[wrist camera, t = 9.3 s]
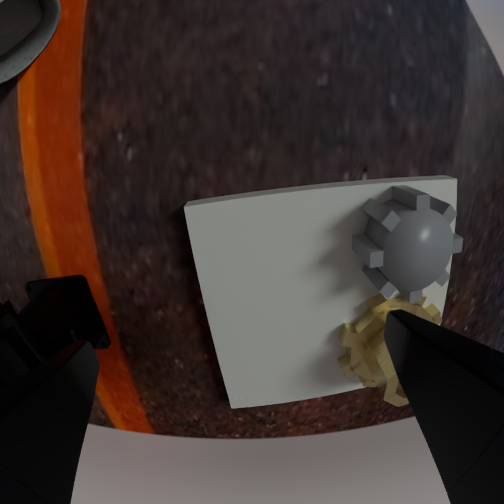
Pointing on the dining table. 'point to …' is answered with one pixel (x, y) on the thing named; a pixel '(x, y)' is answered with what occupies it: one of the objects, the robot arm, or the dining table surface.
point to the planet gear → (378, 345)
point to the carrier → (314, 274)
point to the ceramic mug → (25, 32)
